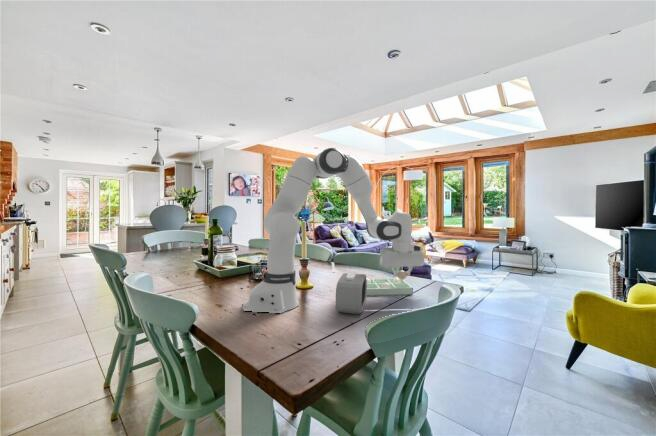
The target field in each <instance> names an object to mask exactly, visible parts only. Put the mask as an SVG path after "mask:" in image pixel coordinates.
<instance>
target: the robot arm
mask: <svg viewBox="0 0 656 436" xmlns="http://www.w3.org/2000/svg"><path fill="white" fill-rule="evenodd" d="M334 176H337V177H339V178H340V179H341V181H342V182H343V185H344V186H345V188H346V190H347V191H348V193H349V195H350V196H351V197H352V199H353V200H354V201H355V204H356V205H357V206H358V209H359V211H360V212H361V214H362V216H363V219H364V222H365V226H366V227H365V228H366V232H367V234H368V235H369V237H371V238H373V239H378V240H381V241H385V242H386V241H392V245H391V246H384V247H381V249H380V250H379V255H380V257H379V258H380V259H379V264H380V266H381V267H382V268H391V270H392V272H393V276H394V277H397V276H398V271H396V268H397V267H398V268H400V267H401V268H404V267H405V268H406V267H407V268H408V270H407V271H405V272H406V274H407V277H411V272H412V271H413V268H414V267H423V266H425V255H424V252H423V246H422V245H419V244H416V243H415V242H414V243H413V239H412V238H413V237H412V232H413V221H412V215H410V214H409V213H408V212H404V211H394V212H393V213H392V214H391V215H389V216H386V217H384V218H381V217H380V216H379V215H378V214H377V212H376V209H375V208H374V206H373V204H372V201H371V195H372V192H373V189H374V187H373V183H372V180H371V179H370V176H369V175H368V173H367V171H366V169H365V168H364V166H363V165H362V163H361V162H360V161H359V160H358V159H357V157H355V156H352V155H348V156H347V154H344V153H343V152H342V151H341V150H340V149H338V148H336V147H328V148H325V149H323V150H322V151H321V152H319V153H318V154H317V155H316V156H314V158H311V157H310V156H307V155H302V156H298V157H297V158H296V159H295V160H294V162H293V163H292V165H291V167H290V168H289V170H288V173H287V175H286V177H285V179H284V181H283V184H282V186H281V188H280V190H279V192H278V195H277V196H276V198H275V199H274V201H273V203H272V204H271V206H270V208H269V209H268V211H267V214H266V215H265V217H264V218H263V228H264V230H265V231H266V233H267V234H268V235H269V243H268V248H267V249H268V250H267V252H266V263H267V264H266V265H267V266H266V267H267V269H265V270H263V272H262V277H261V279H262V281H260V282H259V283H258V284H257V285H255V287H253V288H252V289H251V290H250V292H249V295H248V299H247V300H246V301H244V303H243V305H242V311H243V310H244V311H252V312H251V313H257V312H269V313H268V314H275V313H280V314H282V313H284V312H286V311H289V310H293V309H295V308H297V307H298V306H299V304H300V303H299V299H298V296H297V289H296V283H297V273H296V270H295V252H296V250H295V249H296V245H297V244H296V243H297V239H298V238H297V237H298V234H299V232H300V228H301V225H300V221H299V219H298V217H296V215H297V213H298V212H299V210H300V209H301V208H302V207H303V206H304V204H305V201H306V199H307V197H308V195H309V192H310V190H311V187H312V185H313V182H314V181H315V179H316V178H317V179H327V178H331V177H334ZM244 311H243V312H244Z"/></svg>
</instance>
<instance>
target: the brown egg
mask: <svg viewBox="0 0 656 436" xmlns="http://www.w3.org/2000/svg"><path fill="white" fill-rule="evenodd" d="M397 272H398V276H396V278H399V279H401V280H405V279H406V278H407V277H408V276H407V274H406V272H407V271H405V270H403V269H400V270H398V271H397Z"/></svg>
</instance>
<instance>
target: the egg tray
mask: <svg viewBox="0 0 656 436" xmlns="http://www.w3.org/2000/svg"><path fill="white" fill-rule="evenodd" d="M369 279H370V281H371V283H370V284H367V294H366V296H396V295H397V296H399V295H400V296H401V295H414V288H413V286H411V285H410V284H409V283H408V282H407V281H406V280H405V279H403V280H401V279H400V280H401V283H392V280H393V279H394V278H369ZM385 282H386V283H389V284H390V287H391V288H381V285H382V283H385Z"/></svg>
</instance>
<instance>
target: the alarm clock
mask: <svg viewBox="0 0 656 436" xmlns="http://www.w3.org/2000/svg"><path fill="white" fill-rule="evenodd" d="M367 278H368V277H367V275H366V274H364V273H363V274H362V273H356V272H348V273H346V272H345V273H343V274H341V276H340V277H339V279H338V280H337V282H336V289H335V308H336V309H335V310H336V311H338V312H340V313H344V314H357V315H361V314H362V312H363V311H364V307H365V306H366V305H365V304H366V300H367V295H366V294H367Z"/></svg>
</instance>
